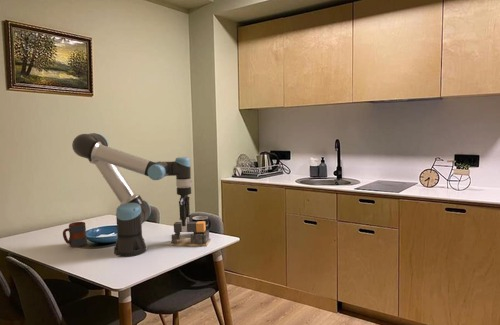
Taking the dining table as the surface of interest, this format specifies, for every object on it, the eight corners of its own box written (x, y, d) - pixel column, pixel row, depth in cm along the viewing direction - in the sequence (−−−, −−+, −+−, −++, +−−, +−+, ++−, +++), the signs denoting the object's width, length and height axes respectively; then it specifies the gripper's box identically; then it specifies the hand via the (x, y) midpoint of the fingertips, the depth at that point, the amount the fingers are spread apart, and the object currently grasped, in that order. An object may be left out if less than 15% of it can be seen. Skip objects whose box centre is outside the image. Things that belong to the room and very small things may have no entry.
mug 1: (59, 247, 195) (58, 225, 194) (81, 241, 204) (80, 220, 203) (68, 250, 190) (66, 227, 189) (90, 244, 199) (89, 222, 198)
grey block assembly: (170, 245, 195) (170, 234, 195) (175, 240, 205) (175, 229, 205) (206, 246, 194) (206, 235, 193) (210, 240, 204) (210, 229, 203)
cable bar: (173, 232, 197) (173, 223, 197) (176, 230, 202) (175, 221, 202) (204, 232, 196) (203, 223, 196) (205, 229, 201) (205, 221, 200)
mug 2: (199, 238, 208) (198, 220, 207) (189, 235, 214) (188, 217, 213) (215, 233, 217) (215, 216, 216) (205, 231, 223) (205, 214, 222)
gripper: (187, 189, 188) (188, 235, 190) (194, 184, 205) (195, 226, 207) (172, 189, 189) (174, 235, 191) (180, 184, 206) (182, 226, 208)
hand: (185, 230), depth 199 cm, fingers closed on cable bar, 4 cm apart
